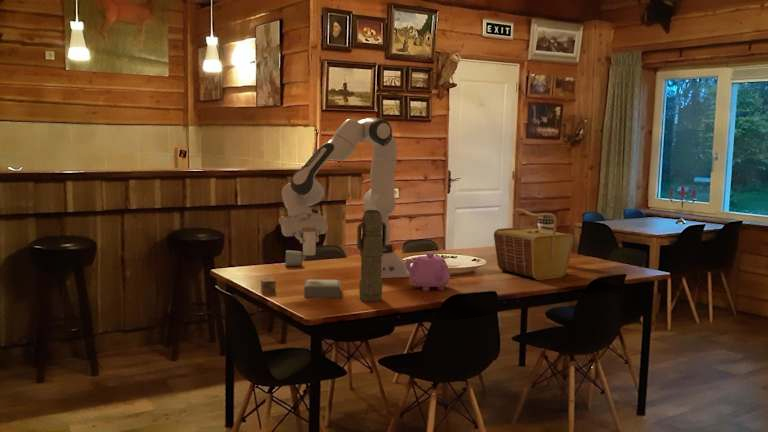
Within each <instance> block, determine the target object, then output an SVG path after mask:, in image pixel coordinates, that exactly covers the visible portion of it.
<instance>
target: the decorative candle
mask: <svg viewBox="0 0 768 432" xmlns="http://www.w3.org/2000/svg"><path fill="white" fill-rule="evenodd" d="M537 219H538V222H537V227H536V229H542V230H547V231H553V226H554V218H553V217H552V216H549V215H545V216H543V217H537Z"/></svg>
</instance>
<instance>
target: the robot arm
mask: <svg viewBox="0 0 768 432" xmlns="http://www.w3.org/2000/svg"><path fill="white" fill-rule="evenodd" d="M360 142H362V143H363V142H365V143H370V144H372V154H371V155H372V157H371V163H370V164H371V165H370V172H369V177H370V189H369V190H368V191H366V192H365V194H364V195H363V198H362V202H363V209H364V212H365V211H367V210H377V211H379V212H380V214H381V217H382V222H384V223H385V224H386V248H384V250H383V256H382V258H381V279H387V278H388V279H389V278H391V279H393V278H409V274H410V273H409V271H408V270H407V268H406V265H405V262H406V260H404V259H403V258H402V257H400V256H399V255H398V254H397V253H396V252H395V251H396V249H397V247H396V246H395V245H393V244H391V224H390V221H389V215H390V214H391V213H392V212H394V210H395V208H396V197H395V191H396V190H395V173H396V166H397V158H398V157H397V156H398V155H397V154H398V148H397V146H398V145H397V140H396V139H395V137H393V130H392V126H391V124H390V122H388V120H385V119H383V118H379V117H367V118H365V117H363V118H360V119H357V120H356V119H354V118H347V119H345V121H344V122H343V123H342V124H341V125H340V126H338V128H337V130H336V131H335V132H334V134H333V135H332V137H331V138H330V139H329V140H328V141H327V142H325V143H323V144H322V145H321V146H319V147H318V149H316V151H314V153H313V154H312V155H311V156H310V157H309V159H308V160H307V161H306V162H305V164H304V165H303V166H302V167H301V168H300V169H298V170H297V171H296V172H295V173H294V174H293V175H292V177H291V179H290V182H289V183H286V184H285V185H283V187H282V190H281V197H282V202H283V205H284V207H285V208H286V209H287V215H288V216H281V217H279V218H278V223H279V225H280V228H281V230H280V231H281V233H282V235H283V236H284V237H295V239H297V240H298V241H299V244H303V243H304V242H305V240H304V238H303V228H308V227H312V228H316V243H319V241H320V238H319V235H323V234H324V235H325V234H326V233H327V231H328V230H329V226H328V222H327V221H326V219H325V217H324V216H323V215H321V214H322V212H321V210H319V209H316V208H312V206H314V205H316V204H319V203H320V202H321V201H323V199H324V196H325V188H324V187H323V186H322V184H321V183H320V182H319V181H318V180H316V178H315V177H316V175H317V174H318V172H319V171H320V169H321V168H322V167H323V166H324V165H325V164H326V162H328V161H329V160H330V161H331V160H332V161H337V162H342V161H346V160H347V159H349V157H351V155H352V154H353V152H354V150H355V149H356V147H357V146H358V144H359V143H360ZM382 227H383V226H382ZM381 234H382V231H381Z"/></svg>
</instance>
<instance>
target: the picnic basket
mask: <svg viewBox="0 0 768 432" xmlns="http://www.w3.org/2000/svg"><path fill="white" fill-rule="evenodd" d="M517 212H523V213H524V214H525V215H526V216H529V217H534V218H538V217H543V216H545V215H549V216H552V217H553V218H554V221H553V224H554V226H553V231H547V230H542V229H537V227H536V228H535V227H532V226H520V227H519V226H518V227H517V225H516V224H517V222H516V221H517V219H516V215H517V214H516V213H517ZM557 222H558V221H557V216H556V215H555V214H553V213H550V212H549V213H548V212H542V213H533V212H530V211H527V210H526V209H523V208H515V209H514V210H513V213H512V227H506V228H497V229H496V230H494V232H493V240H494V247H495V255H496V262H497V266H498V269H499V270H501V271H503V272H508V273H509V272H510V273H513V274H517V275H521V276H524V277H525V276H526V277H528V278H529V277H530V278H532V279H534V280H537V281H543V280H551V279H558V278H559V279H560V278H563V277H564V276H565V275H566V274H567V273H568V268H569V264H570V259H571V255H572V249H573V245H574V242H575V241H574V240H575V237H574V235H573V234H571V233H562V232H557Z"/></svg>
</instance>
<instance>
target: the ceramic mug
mask: <svg viewBox="0 0 768 432" xmlns="http://www.w3.org/2000/svg"><path fill="white" fill-rule="evenodd" d="M303 256H304V255H303V251H299V250H289V249H288V250H285V258H284V260H285V261H284V262H285V264H284V266H285V267H301V266H302V265H303V260H304V259H303V258H304V257H303Z"/></svg>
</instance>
